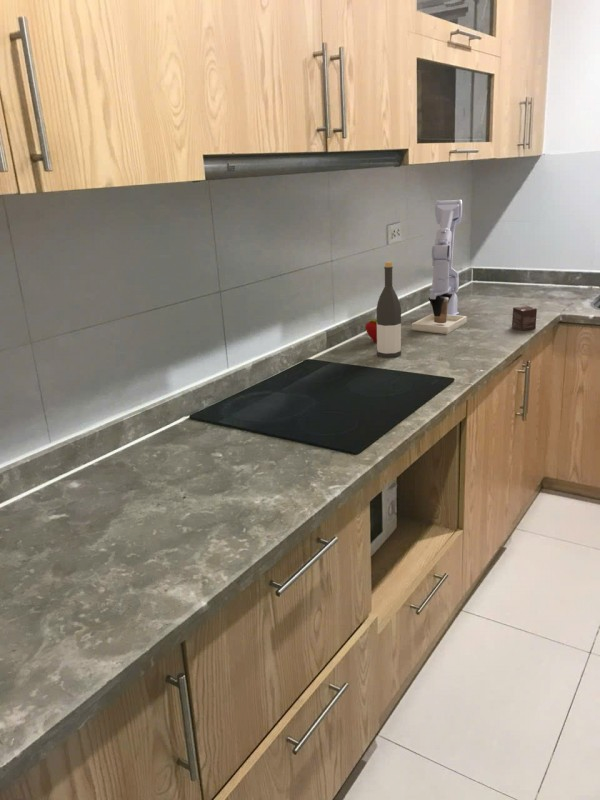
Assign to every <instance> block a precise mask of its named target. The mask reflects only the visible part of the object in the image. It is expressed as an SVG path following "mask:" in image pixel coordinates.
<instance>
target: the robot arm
mask: <svg viewBox="0 0 600 800" xmlns="http://www.w3.org/2000/svg"><path fill="white" fill-rule="evenodd" d="M434 215H435V221H436V223H437V225H439V229H438V230H437V231H436V233H435V234H436V235H435V239H434V245H432V248H431V261H432V262H431V263H432V282H431V288H430V289H429V292H430V293H429V296H428V301H429V302H430V304H431V307H432V313H434V316H440V315H441V309H442V304H443V301H444V299H445V298H440V296H443V297H448V298H449V300H448V308H447V314H448V315H459V314H460V312H459V311H458V295H457V293H458V291H459V288H460V287H459V286H460V285H459V284H460V277H459V276H460V274H459V272H458V271H457V270H455V269H454V267H453V261H454V260H453V259H454V245H455V243H454V241H455V230H456V227H457V225H459V224H461V223H462V216H463V201H462V199H454V200H452V199H451V200H450V199H448V200H439V199H437V200H436V201H435V205H434Z"/></svg>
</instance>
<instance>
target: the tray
mask: <svg viewBox="0 0 600 800" xmlns="http://www.w3.org/2000/svg"><path fill="white" fill-rule="evenodd" d="M434 317H435V316H434V313H433V312H432V313H430V314H428V315H426V316H424V317H422V318H419V319H418V320H417V321H414V322H412V323H411V331H418V332H425V333H432V334H433V333H434V334H442V335H443V334H444V335H448V334H450V333H452V332H453V331H455V330H457V329H459V328H461V327H463V326H464V325H466V324H467V323H468V316H466V315H459V314H457V315H448V314H447V318H446V323H436V322H434Z"/></svg>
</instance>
